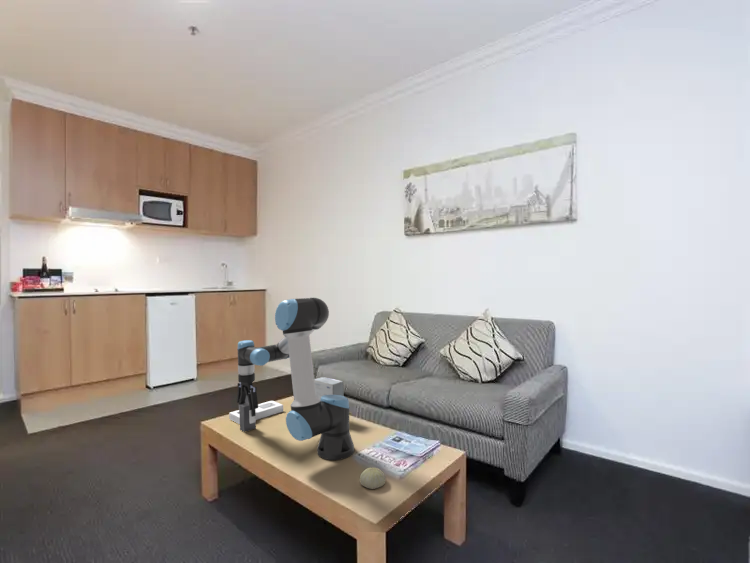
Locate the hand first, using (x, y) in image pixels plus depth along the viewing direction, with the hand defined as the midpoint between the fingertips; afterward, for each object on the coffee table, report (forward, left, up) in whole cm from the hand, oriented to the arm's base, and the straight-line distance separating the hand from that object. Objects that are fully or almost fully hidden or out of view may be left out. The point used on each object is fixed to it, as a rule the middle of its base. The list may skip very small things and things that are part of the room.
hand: (247, 420), depth 189 cm
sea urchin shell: (-43, -65, -5) cm, 78 cm away
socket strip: (+18, +3, -4) cm, 19 cm away
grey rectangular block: (0, 0, -4) cm, 4 cm away
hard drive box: (+15, -36, -5) cm, 39 cm away
